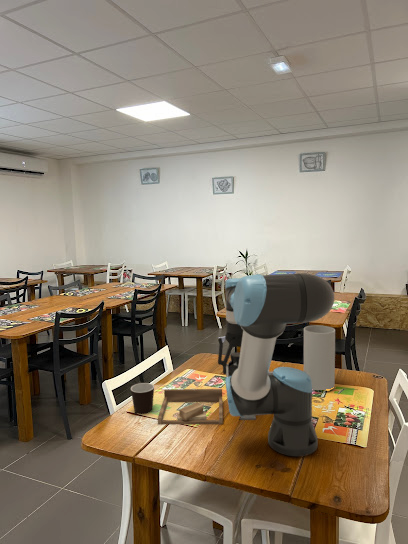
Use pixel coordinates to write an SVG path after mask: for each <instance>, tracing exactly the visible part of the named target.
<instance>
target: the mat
mask: <svg viewBox="0 0 408 544" xmlns="http://www.w3.org/2000/svg"><path fill="white" fill-rule="evenodd" d="M256 416H257V415H253V416H243V417H241V416H239V417H238V418H239V419H238V421H240V420H241V421H246V420H247V421H256V420H257V418H256Z"/></svg>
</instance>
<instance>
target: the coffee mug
mask: <svg viewBox="0 0 408 544" xmlns="http://www.w3.org/2000/svg"><path fill="white" fill-rule="evenodd" d="M130 393H131V394H130V395H131V399H132V404H133V409H134V410H133V411H134V415H135V416H137V414H138V415H146V414H149V413H152V411H153V409H154V394H155V385H154V384H152V383H148V382H139V383H136V384H134V385H131V387H130Z"/></svg>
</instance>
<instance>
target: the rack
mask: <svg viewBox="0 0 408 544" xmlns="http://www.w3.org/2000/svg"><path fill="white" fill-rule="evenodd" d="M163 391H164V395H163V396H164V397H163V401H162V404H161V406H160V410H159V413H158V416H157V425H224V423H223V422H224V421H223V388H191V389H190V388H189V389H187V388H186V389H184V388H183V389H182V388H181V389H180V388H177V389H175V388H174V389H170V388H169V389H167V388H166V389H165V388H164V390H163ZM168 403H218V419H206V420H186V421H185V420H178V419H177V420H175V419H173V420H172V419H171V420H169V419H166V420H164V417H165V414H166V409H167V406H168Z"/></svg>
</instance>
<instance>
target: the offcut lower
mask: <svg viewBox="0 0 408 544" xmlns="http://www.w3.org/2000/svg"><path fill="white" fill-rule="evenodd" d="M177 420H184V419H182V418H180V415H179V413H177ZM188 420H207V413H206V411H203V413H202V414H200V415H198V416H195V417H193V418H191V419H188Z"/></svg>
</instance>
